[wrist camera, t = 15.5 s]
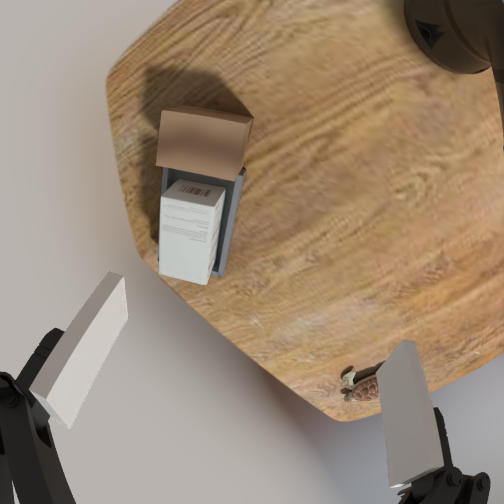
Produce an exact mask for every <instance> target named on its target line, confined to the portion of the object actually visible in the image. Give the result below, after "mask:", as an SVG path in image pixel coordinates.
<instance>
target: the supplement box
mask: <svg viewBox="0 0 504 504" xmlns="http://www.w3.org/2000/svg"><path fill="white" fill-rule="evenodd" d="M225 196H226V187H221V186H214V185H208V184H203V183H197V182H192V181H187V180H183V179H181V178H180V179H178V180H177V181H176V182H175V183H174V184H173V185H172V186H171V187H170V188H169V189H168V190H167V191H166V192H165V193H164V194H163V195H162V196H161V203H160V233H159V273H160V274H163V275H166V276H171V277H174V278H178V279H182V280H186V281H190V282H194V283H198V284H202V285H207V282H208V279H209V276H210V274H211V271H212V268H213V265H214V262H215V260H216V255H217V248H218V241H219V234H220V227H221V220H222V214H223V208H224V202H225Z"/></svg>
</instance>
